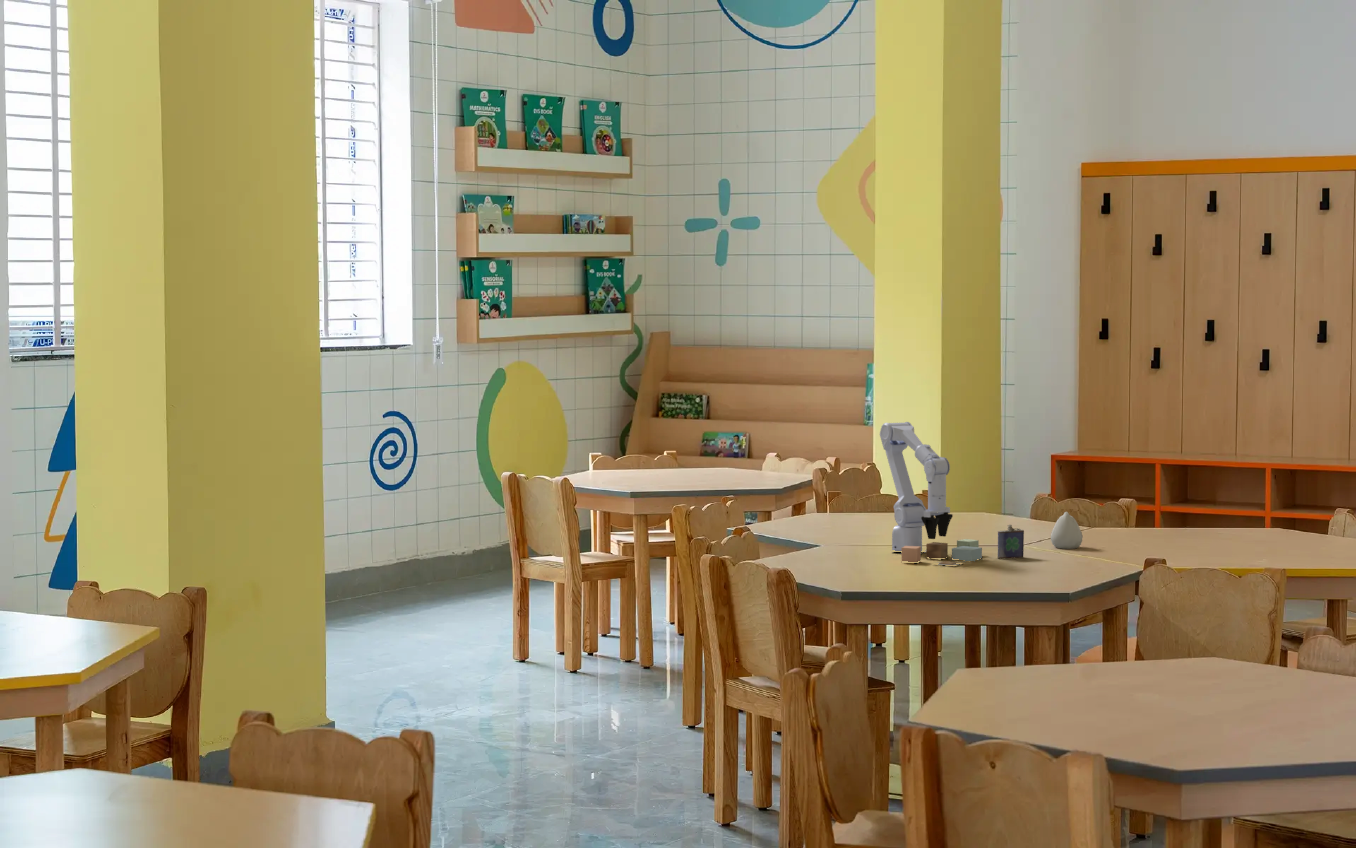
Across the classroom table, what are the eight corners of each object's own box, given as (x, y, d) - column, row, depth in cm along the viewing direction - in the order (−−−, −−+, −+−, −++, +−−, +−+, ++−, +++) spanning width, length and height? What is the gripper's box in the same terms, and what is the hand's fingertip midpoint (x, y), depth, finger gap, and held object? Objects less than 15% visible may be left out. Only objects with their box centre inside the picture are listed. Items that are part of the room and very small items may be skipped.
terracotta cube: (901, 563, 457) (901, 547, 457) (905, 561, 462) (905, 545, 462) (917, 564, 456) (917, 548, 455) (920, 562, 460) (920, 546, 460)
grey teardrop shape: (1083, 550, 482) (1084, 514, 482) (1051, 549, 484) (1051, 513, 484) (1081, 546, 492) (1081, 510, 492) (1049, 545, 495) (1050, 510, 494)
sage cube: (956, 555, 473) (956, 540, 473) (965, 554, 477) (965, 539, 477) (969, 557, 470) (969, 541, 469) (978, 555, 473) (978, 540, 473)
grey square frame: (933, 565, 453) (933, 563, 453) (943, 562, 458) (943, 560, 458) (953, 567, 448) (953, 564, 448) (963, 564, 454) (963, 562, 454)
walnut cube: (926, 559, 466) (926, 543, 466) (933, 557, 470) (933, 542, 470) (940, 560, 463) (940, 545, 463) (947, 558, 467) (947, 543, 467)
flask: (1000, 559, 464) (1000, 526, 463) (995, 558, 466) (995, 525, 466) (1025, 557, 467) (1025, 524, 466) (1020, 556, 469) (1020, 523, 469)
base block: (951, 560, 463) (951, 548, 463) (962, 558, 469) (962, 546, 468) (971, 562, 459) (971, 550, 459) (981, 560, 464) (981, 547, 464)
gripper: (938, 498, 457) (938, 540, 458) (958, 494, 469) (958, 535, 470) (917, 497, 462) (918, 539, 462) (938, 493, 473) (938, 534, 474)
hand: (937, 537), depth 466 cm, fingers open, 7 cm apart
